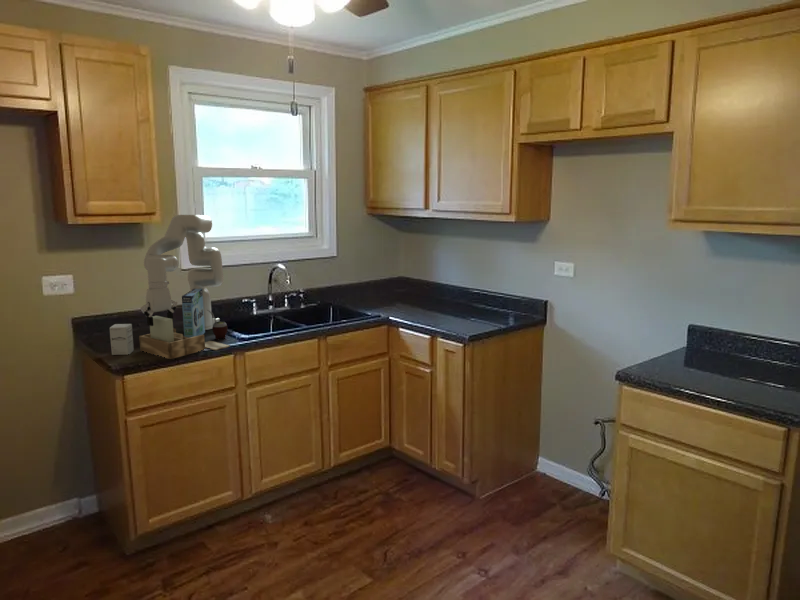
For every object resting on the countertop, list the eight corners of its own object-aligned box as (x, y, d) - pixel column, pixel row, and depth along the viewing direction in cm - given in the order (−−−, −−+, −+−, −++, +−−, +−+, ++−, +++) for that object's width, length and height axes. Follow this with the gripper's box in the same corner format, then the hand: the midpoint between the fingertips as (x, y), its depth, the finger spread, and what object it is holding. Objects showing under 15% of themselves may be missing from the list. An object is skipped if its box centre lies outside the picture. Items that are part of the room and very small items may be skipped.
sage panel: (159, 349, 268) (156, 315, 265) (175, 354, 262) (172, 319, 259) (151, 351, 265) (148, 317, 262) (167, 356, 259) (165, 320, 256)
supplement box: (111, 355, 260) (108, 327, 257) (117, 350, 267) (114, 323, 265) (128, 354, 260) (126, 327, 258) (134, 350, 268) (132, 323, 265)
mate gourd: (231, 337, 289) (229, 308, 286) (219, 341, 283) (217, 311, 280) (220, 336, 293) (218, 306, 290) (207, 339, 286) (205, 309, 283)
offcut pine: (173, 338, 275) (173, 332, 275) (183, 340, 273) (182, 334, 272) (166, 340, 271) (165, 334, 271) (175, 342, 269) (174, 336, 268)
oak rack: (175, 342, 281) (174, 328, 280) (205, 349, 268) (204, 334, 267) (140, 351, 266) (139, 336, 265) (170, 359, 254) (168, 343, 253)
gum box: (195, 333, 299) (192, 288, 295) (206, 332, 299) (203, 288, 295) (184, 343, 280) (180, 295, 276) (195, 342, 280) (191, 295, 276)
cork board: (210, 342, 282) (210, 340, 281) (229, 346, 274) (229, 345, 274) (196, 345, 275) (196, 344, 275) (215, 350, 267) (215, 349, 267)
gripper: (170, 282, 267) (172, 319, 270) (134, 287, 253) (137, 326, 256) (180, 283, 262) (182, 321, 266) (144, 288, 249) (147, 328, 252)
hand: (160, 323), depth 261 cm, fingers open, 9 cm apart
